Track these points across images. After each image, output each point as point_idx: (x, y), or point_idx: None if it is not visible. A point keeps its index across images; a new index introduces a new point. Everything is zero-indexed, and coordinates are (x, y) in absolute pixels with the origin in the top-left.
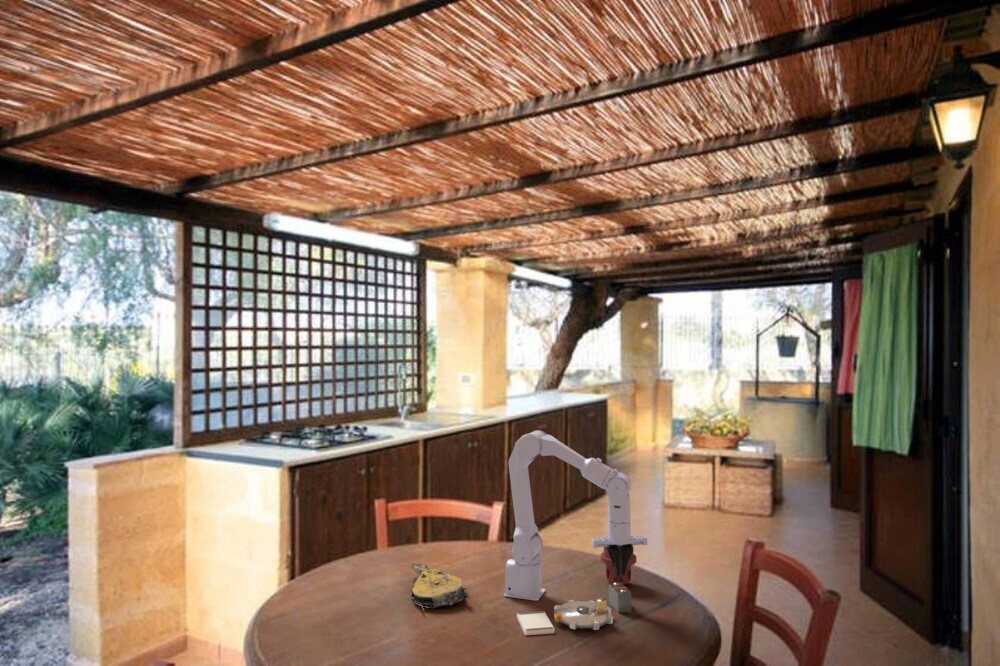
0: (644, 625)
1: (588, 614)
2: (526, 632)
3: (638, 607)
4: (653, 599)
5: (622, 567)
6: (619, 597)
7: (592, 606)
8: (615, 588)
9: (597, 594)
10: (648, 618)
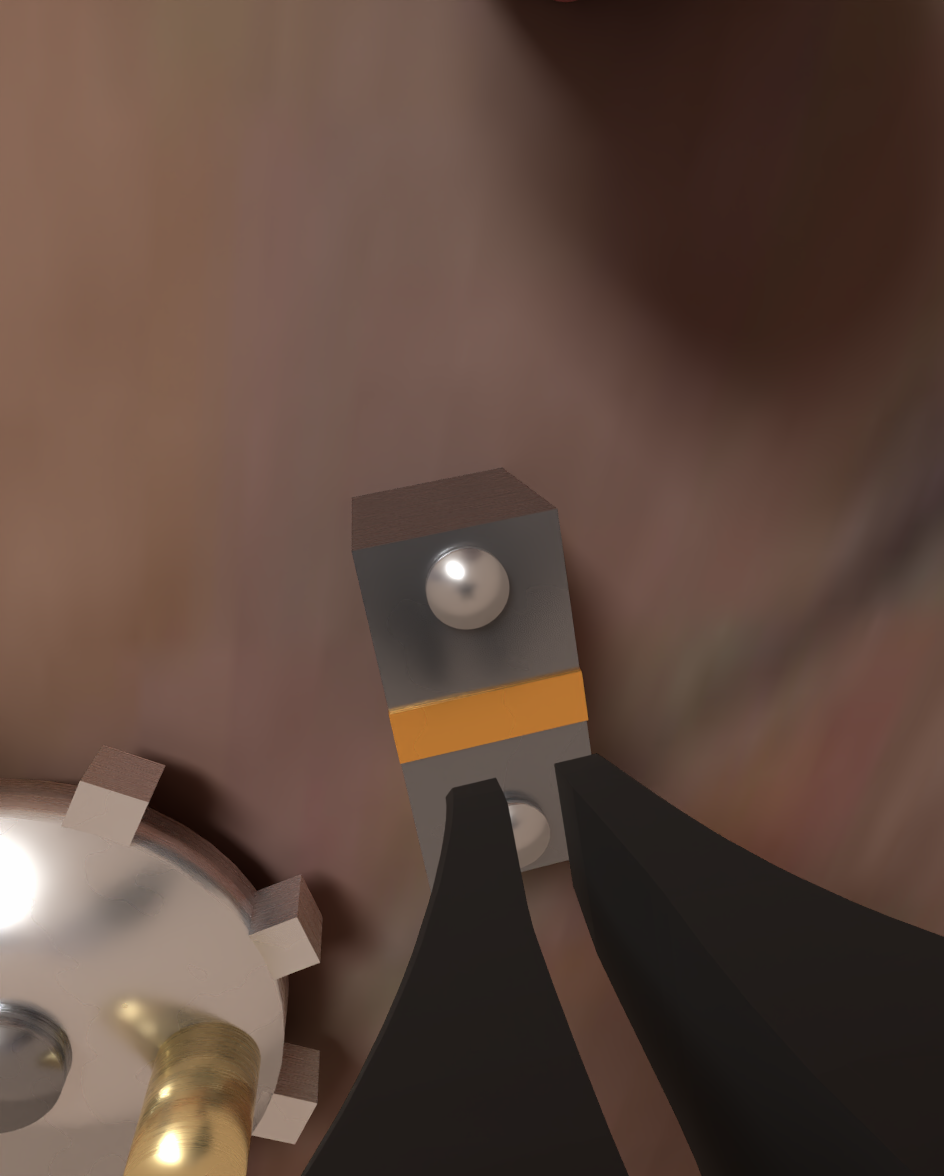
0: (587, 970)
1: (66, 1115)
2: None
3: (642, 621)
4: (860, 402)
5: (623, 986)
6: None
7: (112, 940)
8: (423, 757)
9: (230, 228)
10: None
